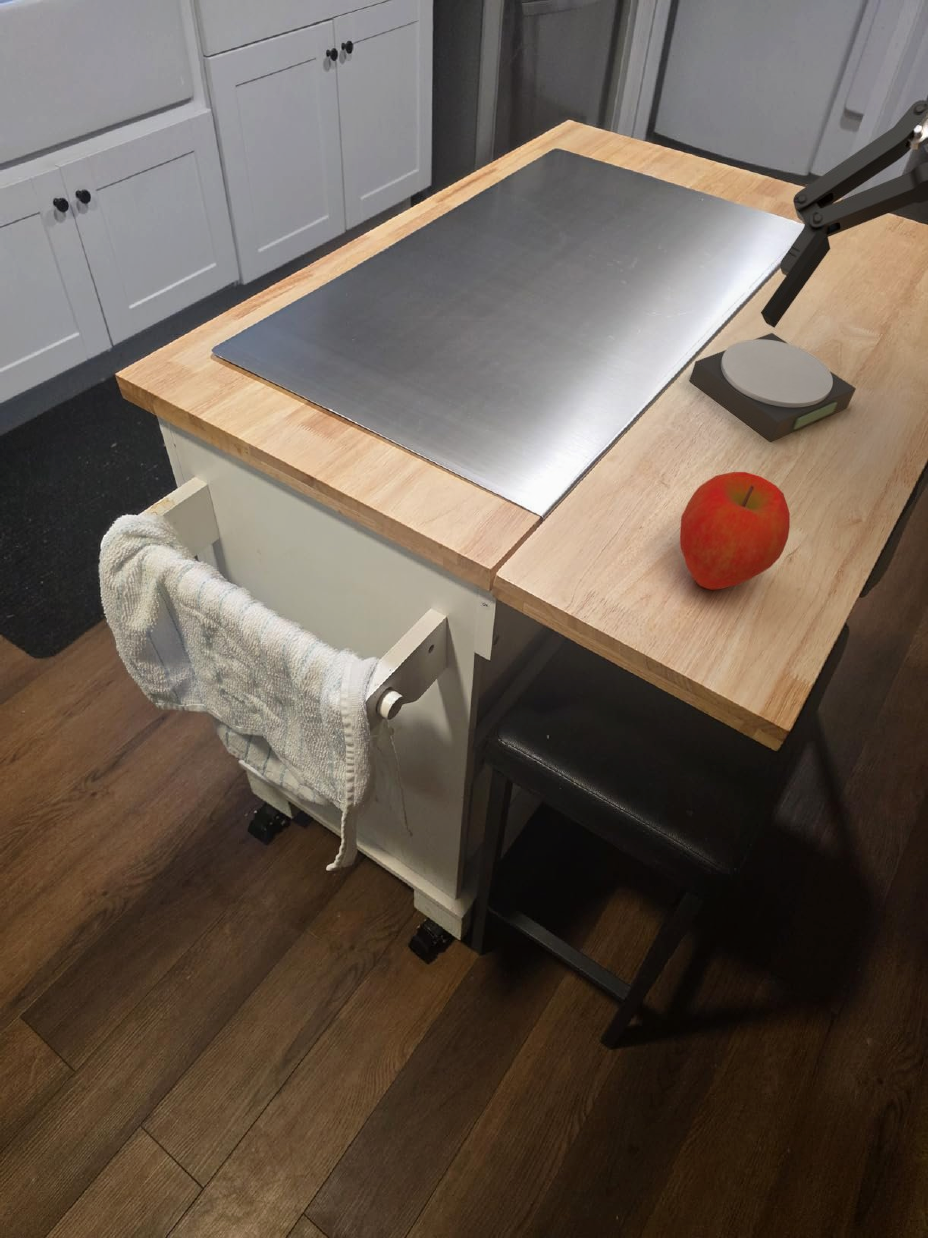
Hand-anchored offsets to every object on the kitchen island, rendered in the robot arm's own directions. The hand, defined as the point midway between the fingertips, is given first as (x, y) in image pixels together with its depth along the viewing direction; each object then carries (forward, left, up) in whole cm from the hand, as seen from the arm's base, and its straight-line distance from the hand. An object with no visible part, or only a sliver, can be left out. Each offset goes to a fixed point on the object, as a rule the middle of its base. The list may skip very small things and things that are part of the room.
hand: (847, 366), depth 62 cm
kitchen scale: (+17, -20, -20) cm, 33 cm away
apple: (0, +6, -20) cm, 21 cm away
